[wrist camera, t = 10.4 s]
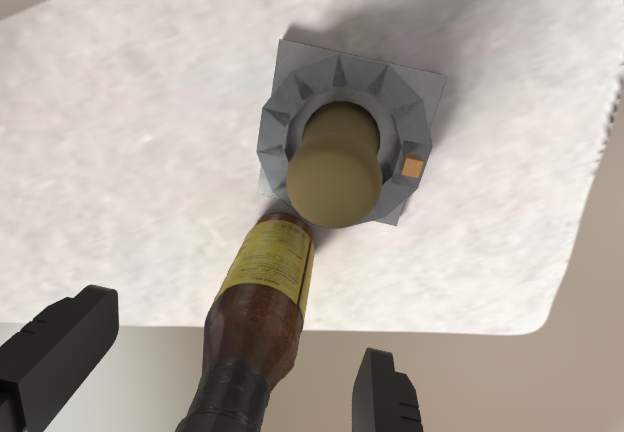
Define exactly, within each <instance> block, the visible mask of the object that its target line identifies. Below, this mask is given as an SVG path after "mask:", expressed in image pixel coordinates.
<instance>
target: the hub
mask: <svg viewBox="0 0 624 432" xmlns="http://www.w3.org/2000/svg"><path fill="white" fill-rule="evenodd" d="M446 79H447V76H445V75H441V74H436V73H432V72H427V71H423V70H418V69H414V68H409V67H405V66H400V65H396V64H391V63H387V62H382V61H378V60H373V59H369V58H364V57H360V56H355V55H351V54H346V53H342V52H337V51H333V50H328V49H324V48H319V47H315V46H310V45H306V44H301V43H297V42H292V41H288V40H283V39H279V45H278V52H277V59H276V66H275V73H274V80H273V87H272V94H271V98H270V99H269V100H268V101H267V103H266V104H265V105H264V106H263V108H262V115H261V122H260V130H259V137H258V144H257V155H258V157H259V160H260V162H261V170H260V177H259V184H258V191H257V194H259V195H263V196H268V197H272V198H276V199H281V200H283V201H284V202H285V203H286V204H287V205H289V206H290V207H291V208H292V209H293V210H295V211H296V209H295V208H294V207H293V205H292V203H291V201H290V198H289V196H288V194H287V185H286V173H287V169H288V166H289V162H290V160H291V159H292V157H293V156H294V154H295V153H296V151H297V150H298V148H299V147H300V146H301V145H302V135H303V131H304V127H305V124H306V122H307V121H308V119H309V118H310V116H311V115H312V113H313V112H315V111H316V110H317V109H318V108H320V107H321V106H322V105H325V104H328V103H331V102H333V101H349V102H352V103H356V104H359V105H360V106H362V107H363V108H365V109H366V110H367V111H369V112H370V113H371V115H372V116H373V118H374V119H375V120H376V122H377V125H378V128H379V131H380V148H379V151H378V155H377V159H378V162H379V166H380V169H381V172H382V191H381V193H380V196H379V199H378V201H377V204H376V205H375V207H374V208H373V209H372V210H371V212H370V213H369V214H368V215H367V216H366V217H365V218H364V219H362V220H361V221H359V222H357V223H356V224H354V225H357V224H361V223H365V222H369V221H376V222H381V223H385V224H389V225H394V226H397V223H398V220H399V217H400V214H401V211H402V208H403V205H404V202H405V199H407V198H408V197H409V196H410V195H411V194H412V193H413V192H414V191H416V190H417V189H418V186H419V183H420V180H421V177H422V175H423V172H424V169H425V166H426V163H427V160H428V157H429V155H430V152H431V149H432V141H431V137H430V132H429V129H430V126H431V123H432V120H433V117H434V114H435V111H436V108H437V105H438V102H439V99H440V96H441V93H442V90H443V87H444V84H445V81H446ZM296 212H297V211H296ZM297 213H298V212H297ZM298 214H299V213H298ZM299 215H300V214H299ZM304 219H305V218H304ZM351 226H353V225H351ZM347 227H349V226H347ZM344 228H345V227H344Z"/></svg>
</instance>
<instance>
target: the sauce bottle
mask: <svg viewBox="0 0 624 432" xmlns="http://www.w3.org/2000/svg"><path fill="white" fill-rule="evenodd" d="M313 260H314V242H313V237H312V234H311V231H310V229H309V228H308V227H307V225H306V224H305V223H303V222H302V221H301V220H299V219H297V218H296V217H294V216H291V215H288V214H282V213H279V214H271V215H268V216H265V217H263V218H262V219H260V220H259V221H258V222H257V223H256V225H255V226H254V227H253V228H252V229H251V230H250V231H249V233H248V234H247V236H246V238H245V240H244V242H243V244H242V246H241V248H240V250H239V252H238V254H237V256H236V258H235V260H234V262H233V263H232V265H231V267H230V269H229V271H228V273H227V276H226V278H225V280H224V282H223V284H222V286H221V288H220V290H219V292H218V294H217V296H216V297H215V299H214V302H213V304H212V306H211V308H210V310H209V312H208V314H207V317H206V320H205V326H204V343H203V345H204V346H203V365H202V377H201V379H200V382H199V386H198V389H197V392H196V395H195V397H194V399H193V402H192V404H191V406H190V408H189V411H188V414H187V416H186V417H185V418H184V419H183V420H182V421H181V422H180V423H179V424H178V426H177V428H176V430H175V432H260V430H261V425H262V422H263V417H264V412H265V408H266V407H267V405H268V401H269V397H270V393H271V391H272V390H273V388H274V387H275V386H276V384H277V383H278V382H279V381H280V380H281V379H283V378H284V377H285V376H286V375H287V374H288V373H289V372H290V371H291V369H292V368H293V366H294V361H295V358H296V356H297V351H298V344H299V338H300V334H301V332H302V329H303V324H304V317H305V311H306V305H307V298H308V292H309V286H310V280H311V273H312V267H313Z"/></svg>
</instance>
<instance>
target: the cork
mask: <svg viewBox="0 0 624 432" xmlns="http://www.w3.org/2000/svg"><path fill="white" fill-rule="evenodd" d="M379 148H380V131H379V128H378V125H377V122H376V120H375V119H374V118H373V116H372V115H371V113H370V112H369V111H367V110H366V109H365V108H363V107H362V106H360V105H359V104H356V103H352V102H349V101H333V102H331V103H328V104H325V105H322V106H321V107H320V108H318V109H317V110H316V111H315V112H313V113H312V115H311V116H310V118H309V119H308V121H307V122H306V124H305V127H304V131H303V135H302V145H301V146H300V147H299V148H298V150H297V151H296V153H295V154H294V156H293V157H292V159H291V160H290V162H289V166H288V169H287V173H286V185H287V194H288V196H289V198H290V201H291V203H292V205H293V207H294V208H295V209H296V211H297V212H298V213H299V214H300V215H301V216H302V217H303V218H305V219H306V220H308V221H309V222H311V223H312V224H314V225H318V226H321V227H324V228H344V227H347V226H351V225H354V224H356V223H357V222H359V221H361V220H362V219H364V218H365V217H366V216H367V215H368V214H369V213H370V212H371V210H372V209H373V208H374V207H375V205H376V204H377V201H378V199H379V196H380V193H381V191H382V172H381V169H380V166H379V162H378V159H377V155H378V151H379Z"/></svg>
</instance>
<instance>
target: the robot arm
mask: <svg viewBox="0 0 624 432" xmlns="http://www.w3.org/2000/svg"><path fill="white" fill-rule="evenodd" d="M118 330H119V314H118V293H117V291H116V290H114V289H109V288H105V287H101V286H96V285H88V286H87V287H85V288H84V289H83V290H82V291H81V292H80V293H79V294H77V295H76V296H75V297H74V298H69V297H66V298H64V299H62V300H60V301H58V302H56V303H53V304H51V305H49V306H47V307H46V308H45V309H44V310H43V311H42V312H40V313H39V314H38V315H37V316H36V317H35V318H33V321H32V322H31V321H30V322H29V323H27V324H26V325H25V326H24V327H23V328H22V329H21V331H20V332H17V333H16V334H15V335H13V336H12V337H11V338H10V339H9V340H7V341H6V342H5V343H4V344H3V345H2V346H1V347H0V432H43V431H44V430H45V429H46V428H47V426H48V425H49V424H50V423H51V421H52V420H53V419H54V418H55V416H56V415H57V414H58V413H59V411H60V410H61V409H62V408H63V406H64V405H65V404H66V403H67V401H68V400H69V399H70V398H71V396H72V395H73V394H74V393H75V391H76V390H77V389H78V388H79V386H80V385H81V384H82V383H83V381H84V380H85V379H86V378H87V376H88V375H89V374H90V372H92V370H93V369H94V368H95V366H96V365H97V364H98V363H99V362H100V360H101V359H102V358H103V357H104V355H105V354H106V353H107V352H108V350H109V349H110V348H111V346H112V345H113V343H114V341H115V339H116V337H117V334H118ZM418 408H419V406H418V401H417V395H416V390H415V388H414V386H413V385H412V383H411V381H410V380H409V378H408V376H407V375H406V374H403V373H399V372H395V369H394V361H393V356H392V353H390V352H386V351H382V350H377V349H373V348H367V349H366V352H365V355H364V357H363V360H362V363H361V366H360V369H359V371H358V374H357V377H356V380H355V383H354V388H353V394H352V432H423V426H422V424H421V416H420V411H419V410H418Z"/></svg>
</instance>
